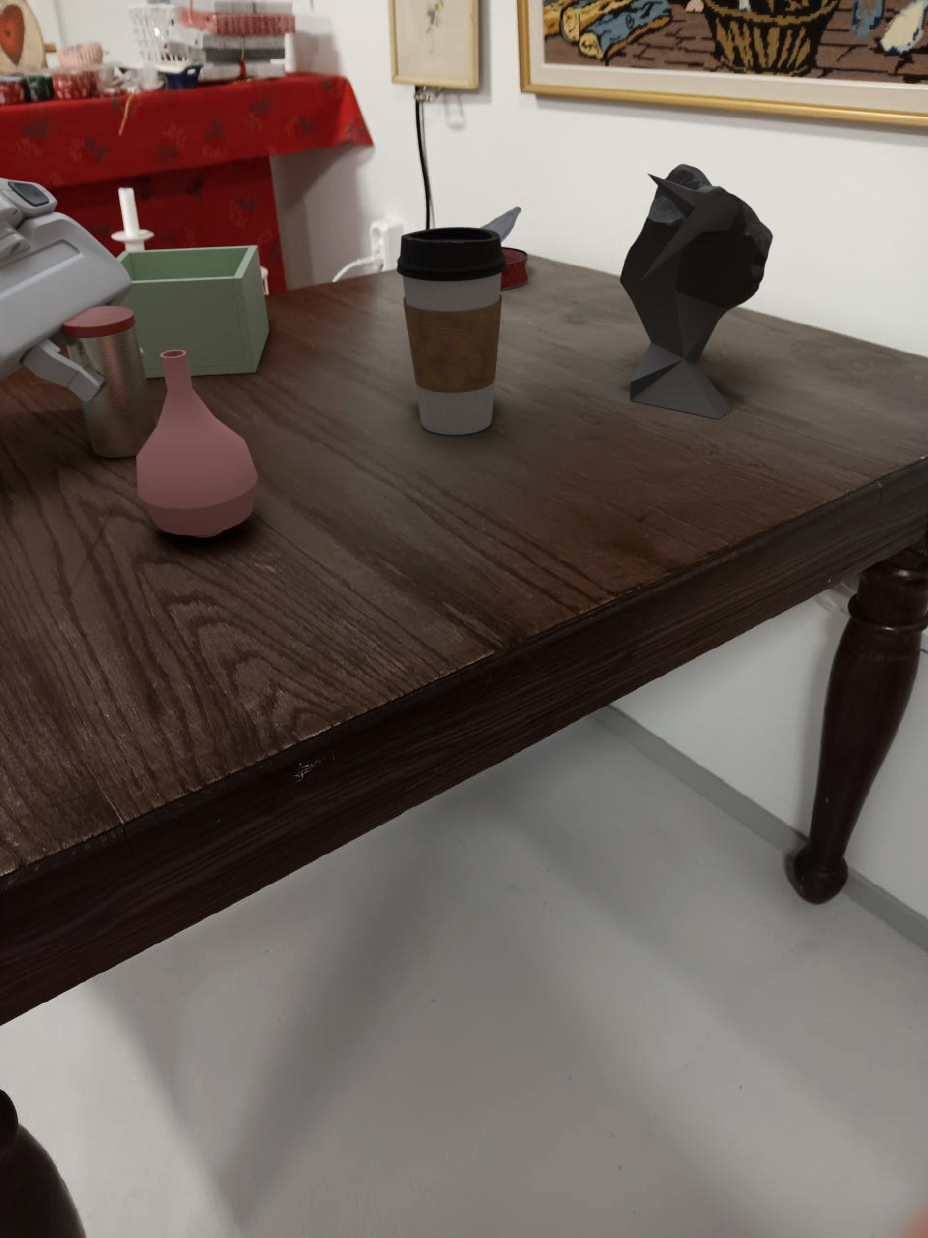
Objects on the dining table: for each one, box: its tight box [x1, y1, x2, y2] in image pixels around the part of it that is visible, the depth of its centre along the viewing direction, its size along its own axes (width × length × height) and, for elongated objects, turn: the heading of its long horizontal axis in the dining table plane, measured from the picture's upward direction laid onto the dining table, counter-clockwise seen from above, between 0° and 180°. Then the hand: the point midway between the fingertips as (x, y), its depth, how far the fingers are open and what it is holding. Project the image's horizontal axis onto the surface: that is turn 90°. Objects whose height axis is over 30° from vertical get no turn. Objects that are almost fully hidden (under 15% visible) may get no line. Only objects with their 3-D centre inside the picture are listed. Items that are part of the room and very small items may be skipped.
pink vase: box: [135, 350, 259, 538], centre depth 61 cm, size 8×8×12 cm
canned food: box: [480, 206, 529, 291], centre depth 117 cm, size 11×10×10 cm
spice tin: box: [61, 306, 157, 459], centre depth 72 cm, size 5×5×10 cm
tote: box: [115, 244, 270, 379], centre depth 94 cm, size 14×14×9 cm
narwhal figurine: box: [619, 163, 774, 420], centre depth 82 cm, size 14×15×18 cm
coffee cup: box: [396, 226, 507, 436], centre depth 76 cm, size 8×8×15 cm
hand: (118, 377), depth 72 cm, fingers closed on spice tin, 5 cm apart
